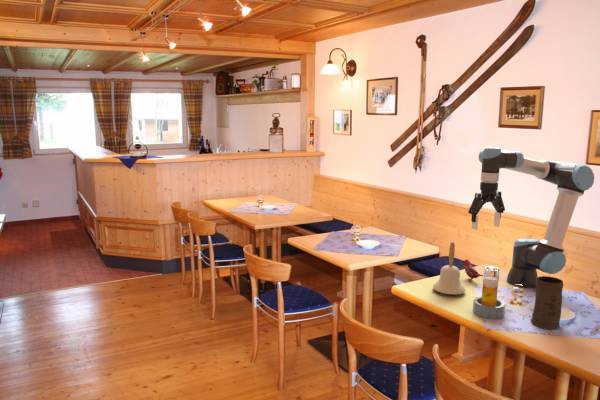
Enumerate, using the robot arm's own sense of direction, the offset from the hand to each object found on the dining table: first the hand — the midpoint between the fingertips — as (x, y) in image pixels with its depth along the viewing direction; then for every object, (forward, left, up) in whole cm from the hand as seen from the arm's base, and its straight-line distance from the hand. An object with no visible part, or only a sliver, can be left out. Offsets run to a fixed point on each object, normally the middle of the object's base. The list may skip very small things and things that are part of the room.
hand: (485, 227), depth 227 cm
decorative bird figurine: (-15, -19, -35) cm, 42 cm away
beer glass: (-4, +2, -35) cm, 35 cm away
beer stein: (-5, +30, -35) cm, 46 cm away
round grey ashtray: (+9, +14, -35) cm, 38 cm away
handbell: (+7, -13, -35) cm, 38 cm away
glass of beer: (+9, +14, -34) cm, 37 cm away
